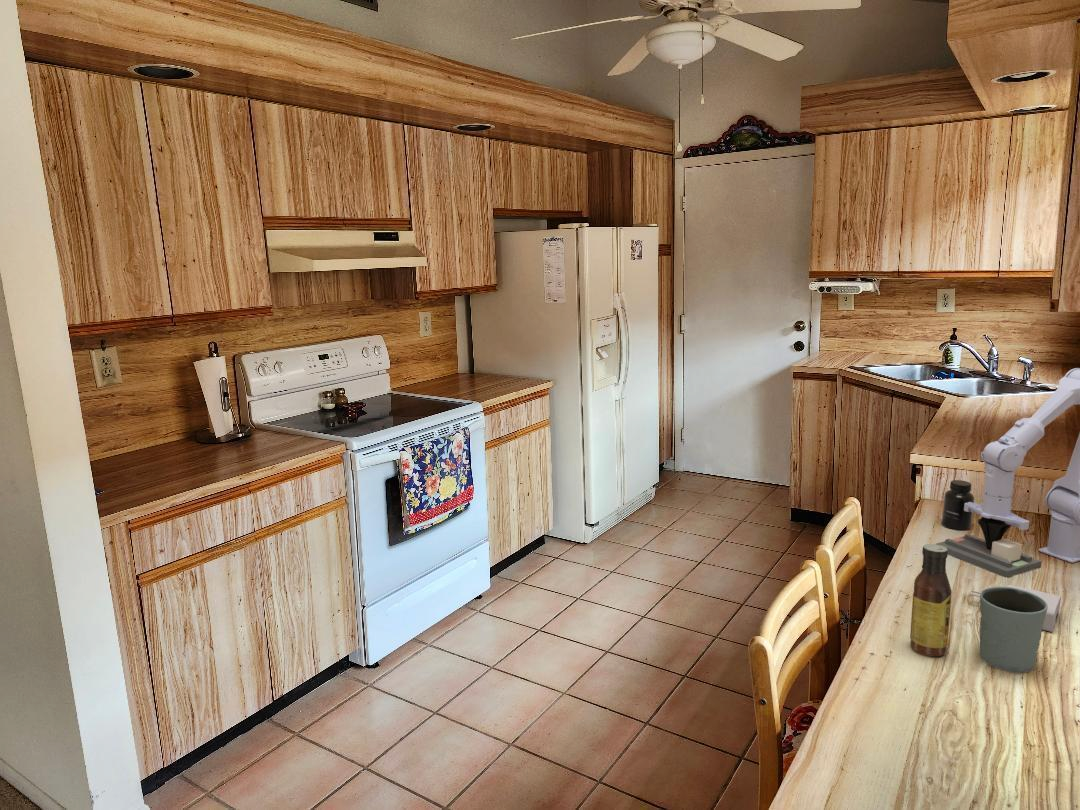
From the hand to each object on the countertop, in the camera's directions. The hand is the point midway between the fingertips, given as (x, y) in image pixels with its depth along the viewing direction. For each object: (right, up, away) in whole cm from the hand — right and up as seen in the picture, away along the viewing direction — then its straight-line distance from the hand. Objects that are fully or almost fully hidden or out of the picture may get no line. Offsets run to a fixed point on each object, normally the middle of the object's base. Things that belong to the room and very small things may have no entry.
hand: (991, 548), depth 177 cm
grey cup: (-22, -12, -41) cm, 48 cm away
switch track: (0, -2, +1) cm, 3 cm away
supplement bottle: (+3, +2, +22) cm, 22 cm away
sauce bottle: (-34, -12, -37) cm, 52 cm away
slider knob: (+1, -1, -3) cm, 4 cm away
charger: (-11, -9, -24) cm, 28 cm away
